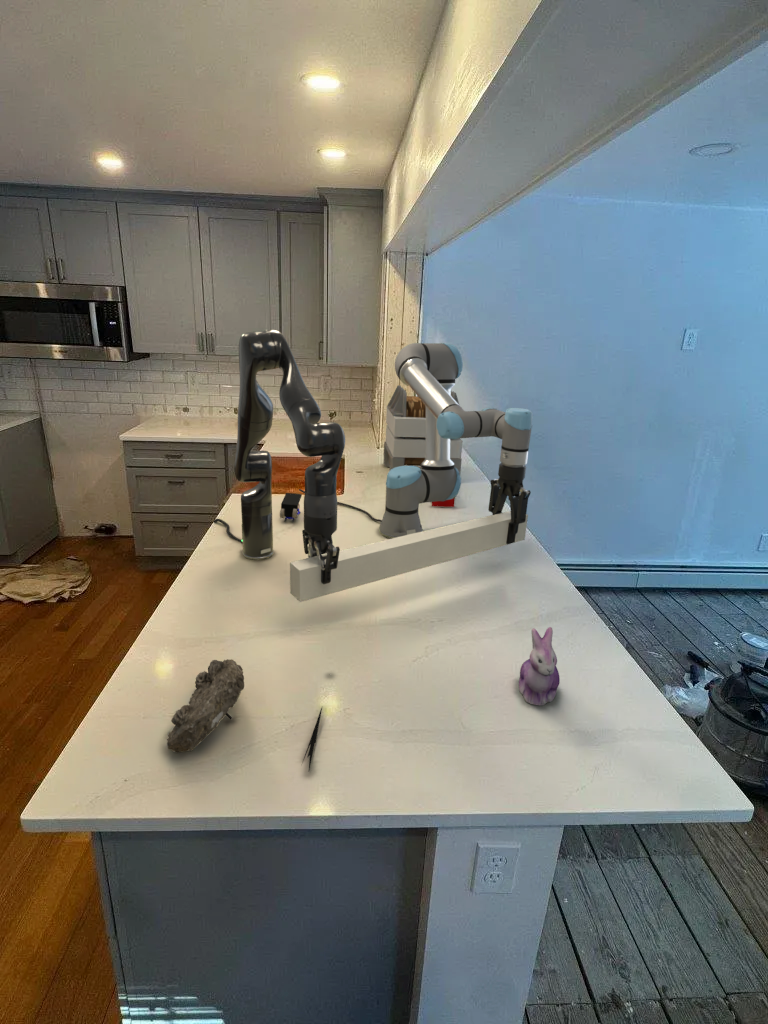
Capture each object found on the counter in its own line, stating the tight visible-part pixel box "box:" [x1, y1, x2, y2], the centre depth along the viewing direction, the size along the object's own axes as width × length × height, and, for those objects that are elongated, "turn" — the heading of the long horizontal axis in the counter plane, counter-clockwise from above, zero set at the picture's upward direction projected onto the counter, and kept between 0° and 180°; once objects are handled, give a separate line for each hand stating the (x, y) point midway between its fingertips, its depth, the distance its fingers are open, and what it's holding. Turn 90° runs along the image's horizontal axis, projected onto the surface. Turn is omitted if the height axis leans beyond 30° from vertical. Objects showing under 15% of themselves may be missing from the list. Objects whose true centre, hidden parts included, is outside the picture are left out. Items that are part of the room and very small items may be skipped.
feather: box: [301, 673, 332, 771], centre depth 108 cm, size 2×28×2 cm
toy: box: [431, 496, 456, 508], centre depth 240 cm, size 12×13×30 cm
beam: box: [289, 510, 529, 603], centre depth 151 cm, size 75×5×8 cm, turn 125°
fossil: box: [166, 658, 245, 754], centre depth 106 cm, size 22×10×15 cm
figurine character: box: [279, 492, 302, 523], centre depth 209 cm, size 7×8×15 cm
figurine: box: [518, 626, 561, 706], centre depth 117 cm, size 9×10×15 cm
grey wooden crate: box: [383, 384, 464, 476], centre depth 268 cm, size 34×33×41 cm
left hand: (320, 577), depth 134 cm, fingers closed on beam, 5 cm apart
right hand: (503, 539), depth 169 cm, fingers closed on beam, 5 cm apart
